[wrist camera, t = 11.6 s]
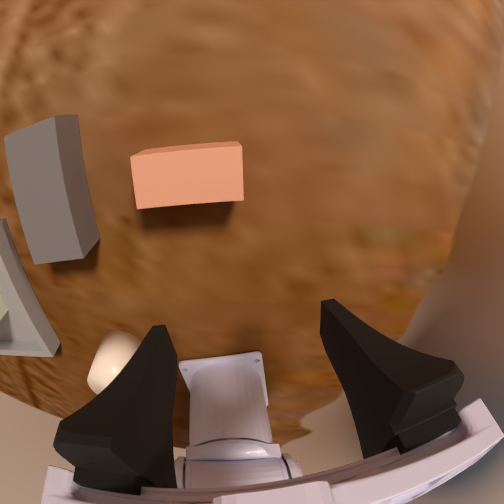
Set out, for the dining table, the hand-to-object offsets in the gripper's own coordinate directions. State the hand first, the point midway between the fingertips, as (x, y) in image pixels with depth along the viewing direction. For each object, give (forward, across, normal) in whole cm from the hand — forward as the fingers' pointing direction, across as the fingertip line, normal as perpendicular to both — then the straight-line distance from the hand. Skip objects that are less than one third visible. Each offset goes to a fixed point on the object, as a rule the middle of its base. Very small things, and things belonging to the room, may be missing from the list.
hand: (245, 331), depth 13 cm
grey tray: (+9, +26, +1) cm, 28 cm away
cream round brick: (+10, +12, +9) cm, 18 cm away
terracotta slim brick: (+10, +2, -6) cm, 11 cm away
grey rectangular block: (+10, +12, -7) cm, 17 cm away
